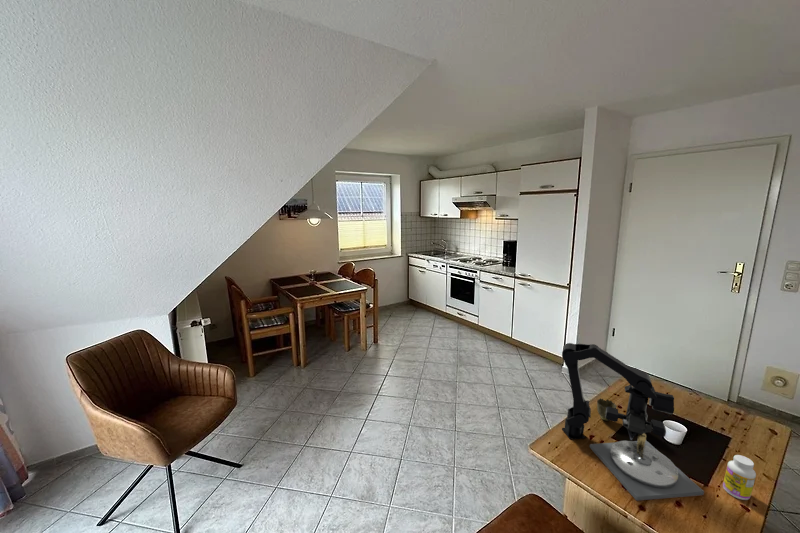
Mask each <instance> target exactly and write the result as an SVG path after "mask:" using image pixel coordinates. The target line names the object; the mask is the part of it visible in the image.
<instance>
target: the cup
mask: <svg viewBox="0 0 800 533" xmlns="http://www.w3.org/2000/svg"><path fill="white" fill-rule="evenodd" d="M608 406H609V407H612V408H616V409H617V407H618V406H617V404H615V402H613V401H612V400H609V399H606V400H605V399H604V398H599V399H597V401H596V408H597V413H598V415H599V416H600V419H601V420H603V421H604V422H605V421H606V422H609V420H607V419H606V407H608Z"/></svg>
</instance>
